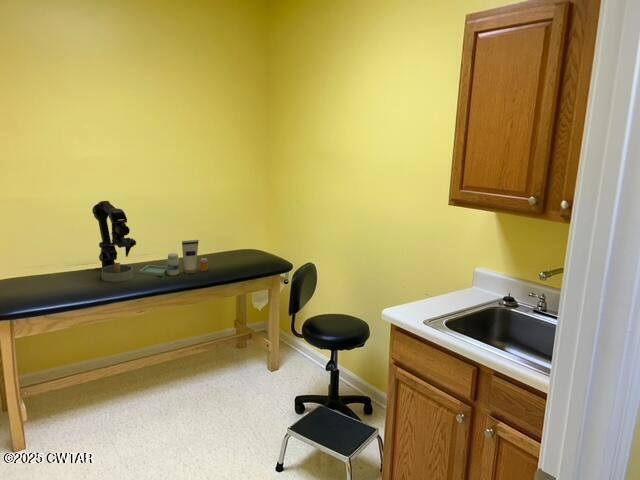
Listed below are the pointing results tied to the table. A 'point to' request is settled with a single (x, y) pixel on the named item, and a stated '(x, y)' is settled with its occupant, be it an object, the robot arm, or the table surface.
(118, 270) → the dowel pin
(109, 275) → the translucent round bowl
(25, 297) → the table surface
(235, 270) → the table surface
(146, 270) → the tray
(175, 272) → the toiletry set
